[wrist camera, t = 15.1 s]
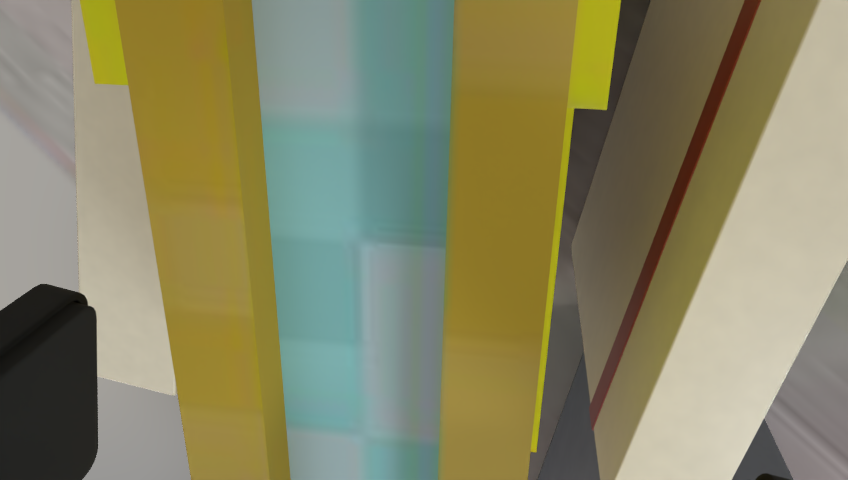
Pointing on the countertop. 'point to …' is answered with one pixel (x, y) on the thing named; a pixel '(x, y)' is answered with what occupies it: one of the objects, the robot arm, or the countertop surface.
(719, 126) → the cream book
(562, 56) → the book
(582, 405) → the grey book
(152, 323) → the cream panel
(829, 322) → the countertop surface
